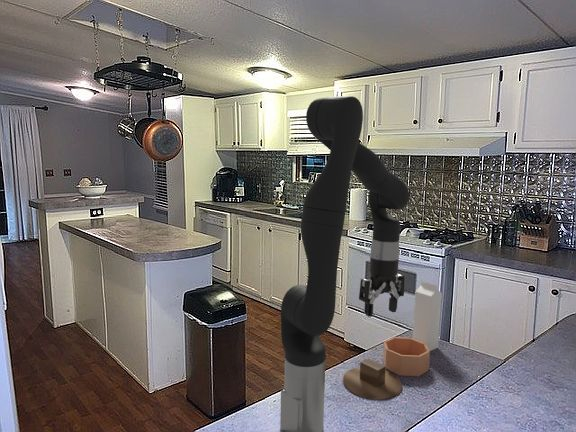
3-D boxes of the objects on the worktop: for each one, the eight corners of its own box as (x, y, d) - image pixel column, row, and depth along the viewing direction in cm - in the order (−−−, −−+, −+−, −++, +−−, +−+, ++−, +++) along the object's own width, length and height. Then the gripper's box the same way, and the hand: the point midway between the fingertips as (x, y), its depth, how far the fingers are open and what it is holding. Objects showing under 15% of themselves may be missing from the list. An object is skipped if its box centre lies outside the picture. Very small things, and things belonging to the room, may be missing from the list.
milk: (427, 352, 138) (431, 287, 134) (411, 345, 143) (415, 282, 139) (438, 347, 141) (442, 283, 138) (422, 341, 146) (426, 279, 143)
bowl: (411, 380, 120) (412, 360, 120) (375, 363, 130) (376, 345, 129) (435, 366, 129) (436, 347, 128) (399, 351, 138) (400, 334, 137)
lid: (377, 408, 108) (378, 386, 107) (331, 382, 120) (331, 362, 119) (413, 386, 118) (414, 366, 117) (367, 364, 130) (368, 345, 129)
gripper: (373, 261, 109) (369, 322, 111) (413, 256, 116) (409, 314, 118) (355, 255, 115) (351, 313, 117) (394, 251, 122) (390, 305, 125)
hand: (380, 313), depth 118 cm, fingers open, 8 cm apart
